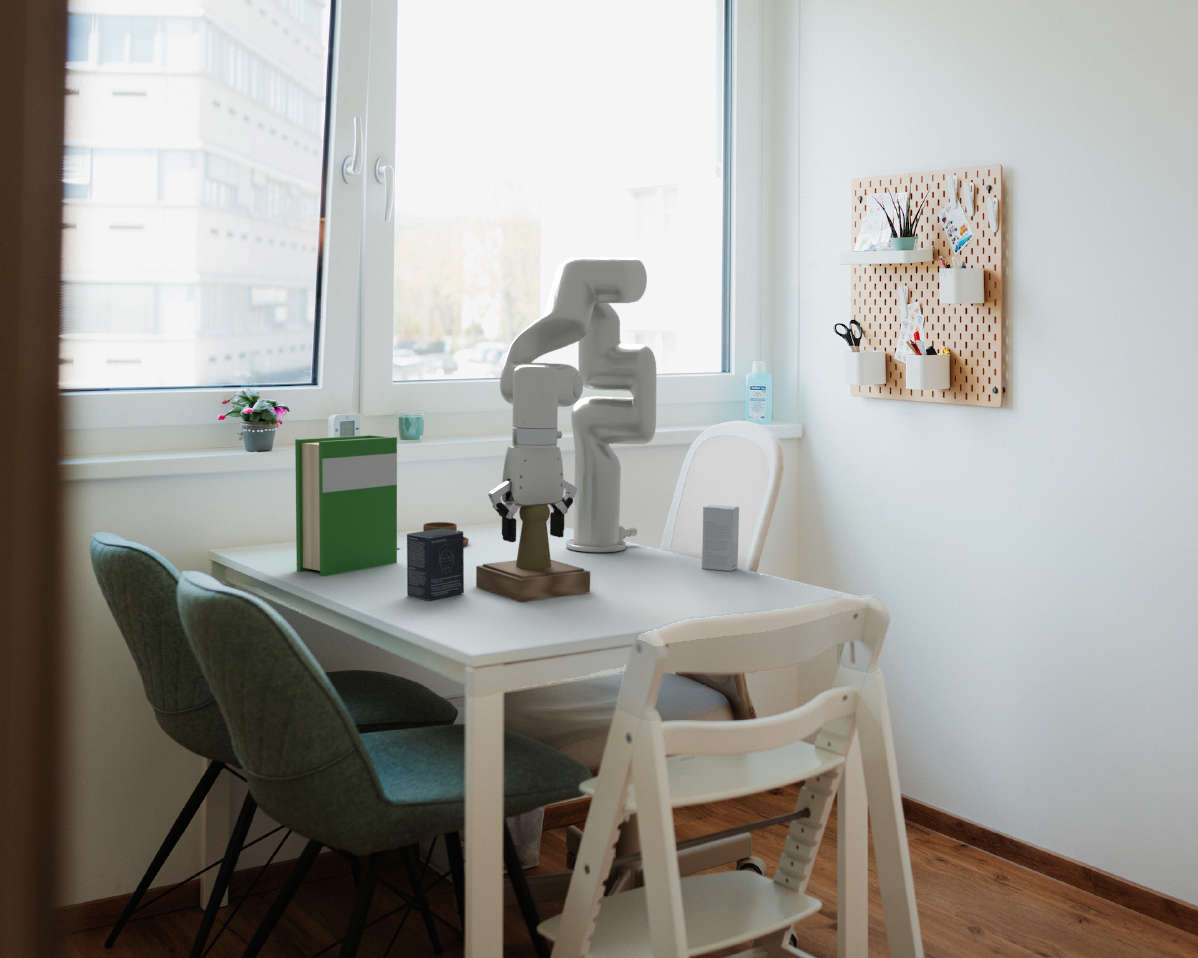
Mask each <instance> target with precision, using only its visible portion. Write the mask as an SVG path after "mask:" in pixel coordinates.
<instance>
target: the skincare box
mask: <svg viewBox="0 0 1198 958" xmlns="http://www.w3.org/2000/svg"><path fill="white" fill-rule="evenodd" d="M702 515H703V516H702V547H701V550H702V551H701V552H702V553H701V555H702V557H701V568H702V569H703V570H713V571H714V570H715V571H723V572H725V571H726V572H732V571H734V570H736V569H738V568H739V566H738V565H739V559H738V558H739V525H740V518H739V517H740V507H739V506H733V505H732V506H731V505H717V504H709V505H707V506H706V505H704V506H703V507H702Z"/></svg>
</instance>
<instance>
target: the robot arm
mask: <svg viewBox="0 0 1198 958" xmlns="http://www.w3.org/2000/svg"><path fill="white" fill-rule="evenodd" d="M553 279H554V280H553V281H552V286H551V290H550V292H549V297H548V300H547V304H546V307H545V311H544V313H543V316H542V317H539V318H538V319H536V320H535V321H534V322H533V323H530V325H529V326H528V327H526V328H525V329H523V330H522V332H520V334H518V335H517V336H516V338H514V340H512V342H511V344H510V345H509V348H508V350H507V353H506V357H505V359H504V363H503V365H502V369H501V375H500V380H499V381H500V382H499V389H500V393H501V397H502V399H504V401H505V402H507V403H508V404H510V405H512V436H511V437H512V444H511V446H507V449H506V453H505V458H504V462H503V463H504V464H503V471H502V480H501V481H502V482H501V484H500V485H498V486H497V487H495V488H494V489H491V491H489V492H488V494H487V495H488V498H489V501H490V502H491V504H492V508H493V510H495V511H496V512H497V514H498V516H499V517H500V518H501V537H502V540H503V541H506V542H509V543H515V542H516V541H517V519H516V518H514V516H515V515H516V513H517V512H518V510H520V507H521V506H522V507H523V506H535V505H548V506H549V508H551V509H552V512H551V511H550V516H549V519H550V520H549V534H550V536H553V537H555V538H564V532H565V515H566V514H567V513H568V511H569V508H570V507H571V506H572V505H573V507H574V508H573V509H574V510H573V538H572V539H569V540H567V541H565V542H566V544H565V545H566V548H567V549H568V550H571V551H577V552H583V553H584V552H585V553H614V552H621V551H624V550H625V549H627V542H625V541H624V539H626V537H636V536H637V535H638V529H637V527H635V526H633V527H624V526H623V525H620V514H621V513H620V511H621V510H620V509H621V507H620V506H621V505H620V504H621V471H622V469H621V461H620V460H619V458H618V456H617V454H616V453H615V452H614V450H613V449H612V447H611V446H610V445H614V444H618V445H619V444H620V445H621V444H622V445H645V444H648V443H650V442H651V441H652V440H653V438H654V436H655V434H656V426H657V361H656V357H655V355H654V354H655V353H654V352H653V351H652V349H651V348H650V347H648V346H647V345H645V344H638V343H637V344H636V343H635V344H630V343H626V344H625V343H622V342H621V320H620V317H619V314H618V313H617V311H616V310H615V308H614V307H613V305H612V304H630V303H635V302H639V300H641V298H643V296H644V294H645V291H646V289H647V284H648V283H647V282H648V277H647V271H646V267H645V265H644V264H643V262H642V261H641V260H640V259H639V258H637V257H617V256H615V257H611V256H610V257H606V256H605V257H599V256H598V257H597V256H596V257H592V256H591V257H590V256H588V257H586V256H584V257H581V256H580V257H579V256H578V257H572V258H568V259H565V260H563V262H561V264H559V266H558V268H557V270H556V272H555V275H554V278H553ZM577 342H578V369H577V368H576V366H574V365H573V366H572V365H570V364H566V363H547V362H534V361H536V360H537V359H538V358H539V357H542V356H544V355H546V354H548V353H551V352H554V351H557V350H560V349H563V348H565V347H568V346H571V345H574V344H575V343H577ZM584 388H586V389H589V390H595V391H596V390H597V391H613V392H615V391H619V392H630V394H631V395H632V397H621V396H618V397H616V396H588V397H583V398H581V396H582V394H583V389H584ZM570 406H573V407H572V409H571V415H570V416H571V417H570V421H571V427H572V428H571V430H572V435H573V442H574V485H573V484H572V483H569V482H568V481H566V480H565V479H564V464H563V458H562V457H563V456H562V453H561V452H562V451H561V449H560V446H558V439H562V437H563V433H562V431H561V430H558V408H566V407H570ZM564 491H565V494H564ZM573 503H574V504H573Z"/></svg>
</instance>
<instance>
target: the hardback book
mask: <svg viewBox="0 0 1198 958" xmlns="http://www.w3.org/2000/svg"><path fill="white" fill-rule="evenodd" d="M294 444H295V448H294V449H295V453H294V454H295V527H296V528H295V529H296V530H295V533H296V534H295V535H296V538H295V539H296V541H295V542H296V543H295V544H296V545H295V546H296V547H295V548H296V572H304V571H309V570H314V571H318V572H319V576H320V577H327V576H332V575H337V574H338V575H339V574H343V573H347V572H348V573H349V572H354V571H361V570H363V569H365V570H366V569H370V568H375V567H381V566H386V565H391V564H397V562H398V550H397V548H398V437H396V436H387V435H385V436H384V435H377V434H376V435H374V434H373V435H372V434H366V435H364V434H363V435H350V436H349V435H348V436H346V435H345V436H330V437H316V438H315V437H313V438H297V439H296V438H295V440H294Z"/></svg>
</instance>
